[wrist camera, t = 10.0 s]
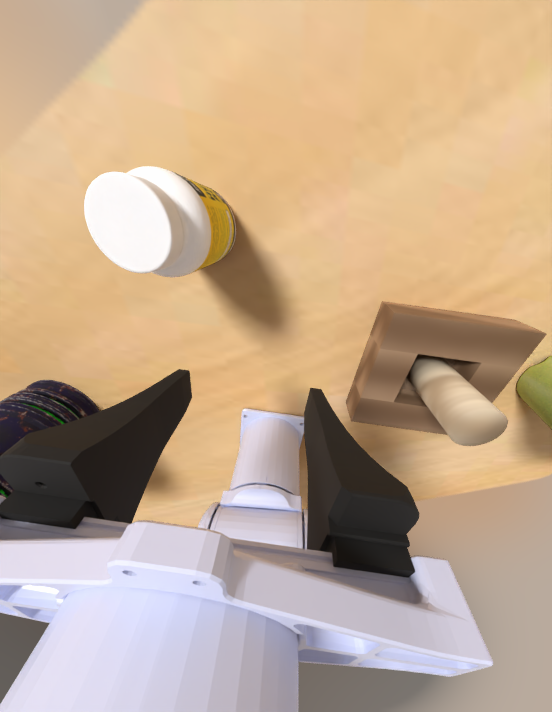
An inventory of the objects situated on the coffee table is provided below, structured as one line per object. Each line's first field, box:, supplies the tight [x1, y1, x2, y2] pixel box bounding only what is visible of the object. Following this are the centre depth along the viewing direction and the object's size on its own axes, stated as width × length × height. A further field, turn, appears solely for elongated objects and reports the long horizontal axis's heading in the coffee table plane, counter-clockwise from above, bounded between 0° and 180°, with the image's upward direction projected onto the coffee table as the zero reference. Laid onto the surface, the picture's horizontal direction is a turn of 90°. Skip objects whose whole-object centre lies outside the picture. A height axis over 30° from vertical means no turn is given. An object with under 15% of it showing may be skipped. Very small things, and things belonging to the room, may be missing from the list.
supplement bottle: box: [84, 166, 236, 277], centre depth 14 cm, size 5×5×10 cm
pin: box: [406, 354, 508, 446], centre depth 20 cm, size 4×4×8 cm
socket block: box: [346, 301, 546, 435], centre depth 22 cm, size 12×12×3 cm
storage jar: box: [0, 380, 100, 498], centre depth 25 cm, size 10×10×15 cm
